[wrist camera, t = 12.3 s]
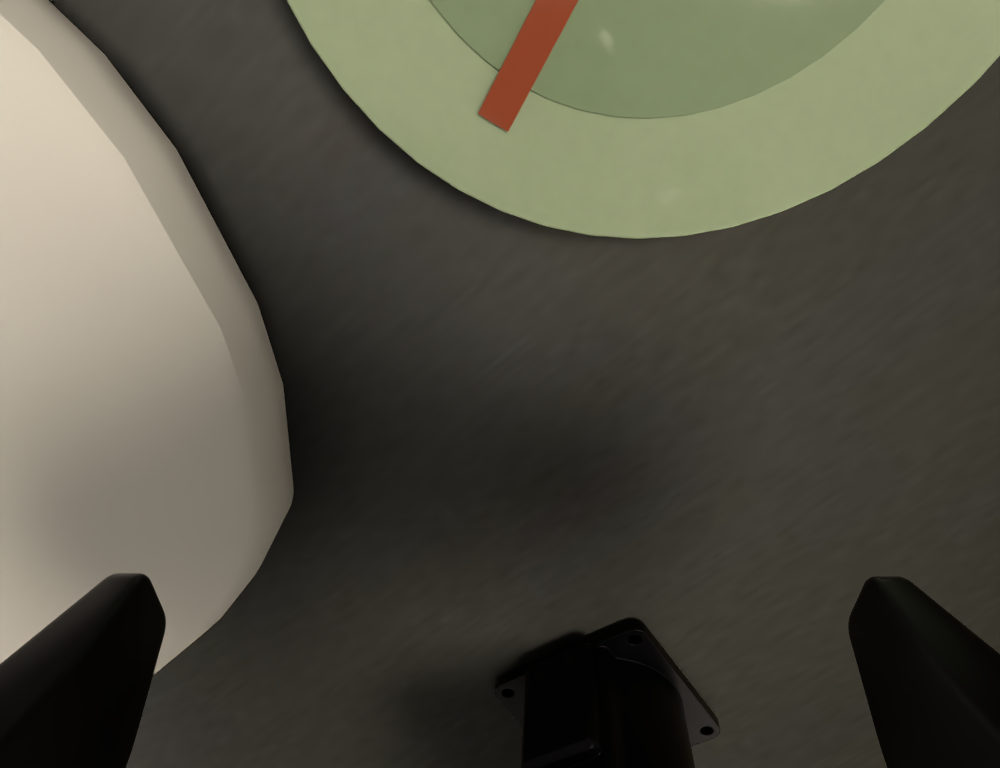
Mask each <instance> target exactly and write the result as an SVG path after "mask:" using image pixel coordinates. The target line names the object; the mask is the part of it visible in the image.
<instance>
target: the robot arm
mask: <svg viewBox="0 0 1000 768" xmlns="http://www.w3.org/2000/svg"><path fill="white" fill-rule="evenodd" d="M165 628H166V617H165V613H164V610H163V608H162V605H161V603H160V601H159V599H158V596H157V594H156V592H155V589H154V587H153V585H152V582H151V580H150V579H149V577H147V576H146V575H145V574H141V573H117V574H112V575H110V576H108V577H106V578H105V579H104V580H102V581H101V582H100V583H99V584H97V585H96V586H95V587H94V588H93V589H91V590H90V591H89V592H88V593H86V594H85V595H84V596H83V597H82V598H80V599H79V600H78V601H77V602H75V603H74V604H73V605H72V606H70V607H69V608H68V609H67V610H66V611H64V612H63V613H62V614H61V615H59V616H58V617H57V618H56V619H55V620H53V621H52V622H51V623H50V624H48V625H47V626H46V627H45V628H44V629H42V630H41V631H40V632H39V633H37V634H36V635H35V636H34V637H32V638H31V639H30V640H29V641H28V642H26V643H25V644H24V645H23V646H21V647H20V648H19V649H18V650H17V651H15V652H14V653H13V654H12V655H10V656H9V657H8V658H7V659H5V660H4V661H3V662H2V663H1V664H0V768H126V765H127V762H128V759H129V757H130V754H131V751H132V748H133V744H134V741H135V738H136V735H137V731H138V727H139V724H140V720H141V717H142V713H143V709H144V706H145V702H146V699H147V695H148V691H149V688H150V684H151V681H152V677H153V673H154V670H155V666H156V663H157V659H158V655H159V652H160V648H161V645H162V641H163V638H164V634H165ZM630 635H638V636H634V637H633V636H630ZM849 635H850V639H851V643H852V647H853V650H854V654H855V657H856V661H857V665H858V668H859V672H860V675H861V679H862V683H863V686H864V690H865V693H866V697H867V700H868V704H869V708H870V711H871V715H872V718H873V722H874V726H875V729H876V733H877V736H878V740H879V743H880V746H881V749H882V753H883V756H884V759H885V762H886V764H887V767H888V768H1000V654H999V653H998V652H996V651H995V650H994V649H993V648H992V647H990V646H989V645H988V644H987V643H985V642H984V641H983V640H982V639H980V638H979V637H978V636H977V635H976V634H974V633H973V632H972V631H971V630H969V629H968V628H967V627H966V626H965V625H963V624H962V623H961V622H960V621H958V620H957V619H956V618H955V617H953V616H952V615H951V614H950V613H949V612H947V611H946V610H945V609H944V608H942V607H941V606H940V605H939V604H937V603H936V602H935V601H934V600H933V599H931V598H930V597H929V596H928V595H926V594H925V593H924V592H923V591H921V590H920V589H919V588H918V587H917V586H915V585H914V584H913V583H911V582H910V581H908V580H907V579H905V578H902V577H871V578H869V579H868V580H867V581H866V582H865V584H864V586H863V588H862V590H861V592H860V595H859V597H858V599H857V601H856V603H855V606H854V608H853V610H852V612H851V615H850V618H849ZM506 688H509V689H506ZM495 695H496V697H497V698H498V699H499V700H500V701H501V702H502V703H503V704H504V705H505V706H506V708H507V709H508V710H509V711H510V712H511V713H512V714H513V715H514V716H515V717H516V718H517V719H518V720H519V721H520V722H521V724H522V725H523V737H522V757H521V768H695V766H694V760H693V755H692V750H691V746H693V745H696V744H699V743H702V742H705V741H707V740H710V739H713V738H715V737H717V736H718V735H719V733H720V727H719V723H718V719H717V717H716V716H715V715H714V713H713V712H712V711H711V710H710V708H709V707H708V706H707V704H706V703H705V702H704V701H703V699H702V698H701V697H700V695H699V694H698V693H697V692H696V690H695V689H694V688H693V686H692V685H691V684H690V683H689V681H688V680H687V679H686V677H685V676H684V675H683V674H682V672H681V671H680V670H679V668H678V667H677V666H676V665H675V663H674V662H673V661H672V659H671V658H670V657H669V656H668V654H667V653H666V652H665V650H664V649H663V648H662V647H661V645H660V644H659V643H658V641H657V640H656V639H655V638H654V636H653V635H652V634H651V632H650V631H649V630H648V629H647V627H646V626H645V625H644V624H642V623H640V622H637V621H630V622H626V623H624V624H622V625H619V626H617V627H615V628H612V629H610V630H608V631H605V632H603V633H601V634H598V635H596V636H594V637H592V638H589V639H587V640H585V641H582V642H580V643H578V644H575V645H573V646H571V647H568V648H566V649H564V650H561V651H559V652H557V653H554V654H552V655H550V656H547V657H545V658H543V659H540V660H538V661H536V662H533V663H531V664H529V665H526V666H524V667H522V668H519V669H517V670H515V671H512V672H510V673H508V674H505V675H503V676H501V677H499V678H498V679H497V681H496V685H495Z"/></svg>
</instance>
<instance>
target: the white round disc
mask: <svg viewBox="0 0 1000 768" xmlns="http://www.w3.org/2000/svg"><path fill="white" fill-rule="evenodd" d="M293 493H294V488H293V478H292V468H291V458H290V448H289V438H288V428H287V418H286V408H285V398H284V388H283V382H282V379H281V376H280V373H279V369H278V366H277V363H276V360H275V357H274V354H273V350H272V347H271V344H270V341H269V338H268V335H267V331H266V328H265V325H264V322H263V319H262V316H261V312H260V309H259V306H258V303H257V301H256V299H255V297H254V296H253V294H252V292H251V290H250V288H249V286H248V284H247V282H246V280H245V278H244V277H243V275H242V273H241V271H240V269H239V267H238V265H237V263H236V261H235V259H234V258H233V256H232V254H231V252H230V250H229V248H228V246H227V244H226V242H225V240H224V239H223V237H222V235H221V233H220V231H219V229H218V227H217V225H216V223H215V221H214V220H213V218H212V216H211V214H210V212H209V210H208V208H207V206H206V204H205V202H204V201H203V199H202V197H201V195H200V193H199V191H198V189H197V187H196V185H195V183H194V182H193V180H192V178H191V176H190V174H189V172H188V170H187V168H186V166H185V164H184V163H183V161H182V159H181V157H180V155H179V153H178V151H177V149H176V148H175V147H174V145H173V144H172V143H171V141H170V140H169V139H168V137H167V136H166V135H165V133H164V132H163V131H162V129H161V128H160V127H159V125H158V124H157V123H156V122H155V120H154V119H153V118H152V116H151V115H150V114H149V112H148V111H147V110H146V108H145V107H144V106H143V104H142V103H141V102H140V100H139V99H138V98H137V96H136V95H135V94H134V93H133V91H132V90H131V89H130V87H129V86H128V85H127V83H126V82H125V81H124V79H123V78H122V77H121V75H120V74H119V73H118V71H117V70H116V69H115V67H114V66H113V65H112V64H111V62H110V61H109V60H108V58H107V57H106V56H105V54H104V53H103V52H102V51H101V50H100V49H99V48H97V47H96V46H95V45H94V44H93V43H92V42H91V41H90V40H89V39H88V38H87V37H86V36H85V35H84V34H83V33H82V32H81V31H80V30H79V29H78V28H77V27H76V26H75V25H74V24H73V23H72V22H70V21H69V20H68V19H67V18H66V17H65V16H64V15H63V14H62V13H61V12H60V11H59V10H58V9H57V8H56V7H55V6H54V5H53V4H52V3H51V2H50V1H49V0H0V664H1V663H2V662H3V661H4V660H5V659H7V658H8V657H9V656H10V655H12V654H13V653H14V652H15V651H17V650H18V649H19V648H20V647H21V646H23V645H24V644H25V643H26V642H28V641H29V640H30V639H31V638H32V637H34V636H35V635H36V634H37V633H39V632H40V631H41V630H42V629H44V628H45V627H46V626H47V625H48V624H50V623H51V622H52V621H53V620H55V619H56V618H57V617H58V616H59V615H61V614H62V613H63V612H64V611H66V610H67V609H68V608H69V607H70V606H72V605H73V604H74V603H75V602H77V601H78V600H79V599H80V598H82V597H83V596H84V595H85V594H86V593H88V592H89V591H90V590H91V589H93V588H94V587H95V586H96V585H97V584H99V583H100V582H101V581H102V580H104V579H105V578H106V577H108V576H110V575H112V574H117V573H141V574H145V575H146V576H147V577H149V579H150V580H151V582H152V585H153V587H154V589H155V592H156V594H157V596H158V599H159V601H160V603H161V605H162V608H163V610H164V613H165V617H166V628H165V634H164V638H163V641H162V645H161V648H160V652H159V655H158V659H157V663H156V666H155V670H154V673H153V674H155V673H157V672H158V671H159V670H160V669H161V668H163V667H164V666H165V665H166V664H167V663H169V662H170V661H171V660H172V659H173V658H175V657H176V656H177V655H178V654H179V653H181V652H182V651H183V650H184V649H185V648H187V647H188V646H189V645H190V644H191V643H193V642H194V641H195V640H196V639H197V638H199V637H200V636H201V635H202V634H203V633H205V632H206V631H207V630H208V629H209V628H210V627H211V626H213V625H214V624H215V623H216V622H217V621H218V620H219V619H221V617H222V616H223V615H224V614H225V612H226V611H227V610H228V609H229V607H230V606H231V605H232V604H233V602H234V601H235V600H236V598H237V597H238V596H239V595H240V593H241V592H242V591H243V590H244V588H245V587H246V586H247V585H248V583H249V582H250V581H251V580H252V578H253V577H254V576H255V574H256V573H257V571H258V569H259V568H260V566H261V564H262V562H263V560H264V558H265V556H266V554H267V552H268V550H269V548H270V546H271V544H272V542H273V540H274V538H275V536H276V534H277V532H278V530H279V528H280V526H281V524H282V522H283V520H284V518H285V516H286V514H287V512H288V510H289V508H290V506H291V504H292V499H293Z"/></svg>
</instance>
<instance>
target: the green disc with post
mask: <svg viewBox="0 0 1000 768" xmlns="http://www.w3.org/2000/svg"><path fill="white" fill-rule="evenodd" d="M287 2H288V4H289V6H290V8H291V9H292V11H293V13H294V15H295V17H296V18H297V20H298V22H299V24H300V26H301V27H302V29H303V31H304V33H305V35H306V36H307V38H308V40H309V42H310V44H311V45H312V47H313V48H314V49H315V51H316V52H317V54H318V55H319V56H320V58H321V59H322V61H323V62H324V63H325V65H326V66H327V68H328V69H329V70H330V72H331V73H332V75H333V76H334V77H335V79H336V80H337V82H338V83H339V84H340V86H341V87H342V89H343V90H344V91H345V92H346V93H347V95H348V96H349V97H350V98H351V99H352V100H353V101H354V102H355V103H356V105H357V106H358V107H359V108H360V109H361V110H362V111H363V112H364V113H365V114H366V116H367V117H368V118H369V119H370V120H371V121H372V122H373V123H374V124H375V126H376V127H377V128H378V129H379V130H380V131H381V132H383V133H384V134H385V135H386V136H387V137H388V138H389V139H391V140H392V141H393V142H394V143H395V144H396V145H398V146H399V147H400V148H401V149H402V150H403V151H404V152H406V153H407V154H408V155H409V156H410V157H411V158H413V159H414V160H415V161H416V162H417V163H418V164H420V165H421V166H423V167H424V168H426V169H427V170H429V171H430V172H432V173H433V174H435V175H436V176H438V177H439V178H441V179H442V180H444V181H445V182H447V183H448V184H450V185H451V186H453V187H454V188H456V189H457V190H459V191H461V192H463V193H465V194H467V195H469V196H471V197H473V198H475V199H477V200H479V201H481V202H483V203H485V204H487V205H489V206H491V207H493V208H495V209H497V210H499V211H502V212H504V213H507V214H510V215H513V216H516V217H519V218H522V219H525V220H528V221H531V222H534V223H536V224H539V225H542V226H545V227H550V228H555V229H560V230H565V231H570V232H575V233H580V234H585V235H590V236H603V237H617V238H631V239H644V238H661V237H679V236H688V235H694V234H699V233H704V232H710V231H715V230H721V229H726V228H732V227H735V226H739V225H742V224H745V223H748V222H751V221H755V220H758V219H761V218H764V217H767V216H771V215H774V214H777V213H780V212H783V211H785V210H787V209H790V208H792V207H794V206H796V205H799V204H801V203H803V202H805V201H808V200H810V199H812V198H814V197H817V196H819V195H821V194H823V193H826V192H828V191H830V190H832V189H834V188H835V187H837V186H839V185H840V184H842V183H844V182H846V181H847V180H849V179H851V178H852V177H854V176H856V175H858V174H859V173H861V172H863V171H864V170H866V169H868V168H870V167H871V166H873V165H875V164H876V163H878V162H880V161H881V160H882V159H884V158H885V157H886V156H888V155H889V154H891V153H892V152H893V151H895V150H896V149H897V148H899V147H900V146H901V145H903V144H904V143H905V142H907V141H908V140H910V139H911V138H912V137H914V136H915V135H916V134H918V133H919V132H920V131H922V130H923V129H924V128H926V127H927V126H928V125H929V124H930V123H932V122H933V121H934V120H935V119H936V118H937V117H938V116H939V115H940V114H941V113H943V112H944V111H945V110H946V109H947V108H948V107H949V106H950V105H951V104H952V103H954V102H955V101H956V100H957V99H958V98H959V97H960V96H961V95H962V94H963V93H965V92H966V91H967V90H968V89H969V88H970V87H971V86H972V85H973V84H974V83H975V82H976V81H977V80H978V79H979V78H980V77H981V76H982V75H983V73H984V72H985V71H986V70H987V69H988V68H989V67H990V66H991V65H992V64H993V62H994V61H995V60H996V59H997V58H998V57H999V56H1000V0H287Z"/></svg>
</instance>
